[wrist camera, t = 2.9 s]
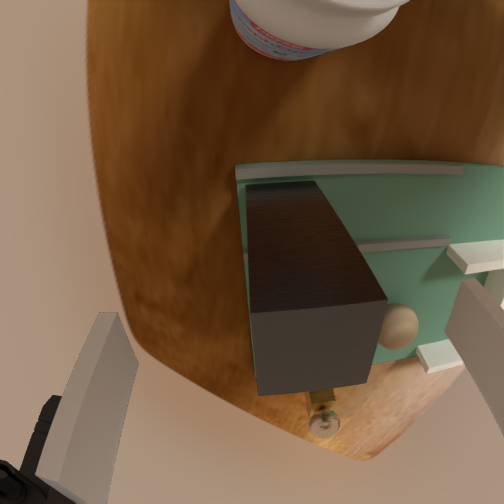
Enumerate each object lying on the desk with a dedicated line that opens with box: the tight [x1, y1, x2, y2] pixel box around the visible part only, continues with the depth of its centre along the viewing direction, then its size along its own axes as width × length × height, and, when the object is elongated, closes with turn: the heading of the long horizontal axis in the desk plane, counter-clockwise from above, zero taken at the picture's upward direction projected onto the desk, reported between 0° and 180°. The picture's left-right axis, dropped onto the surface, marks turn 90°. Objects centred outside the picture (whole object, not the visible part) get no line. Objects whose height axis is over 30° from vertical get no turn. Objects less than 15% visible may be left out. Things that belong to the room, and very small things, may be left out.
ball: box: [378, 303, 418, 350], centre depth 22 cm, size 4×4×4 cm
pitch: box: [235, 159, 504, 378], centre depth 23 cm, size 18×22×1 cm
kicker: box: [245, 181, 388, 438], centre depth 17 cm, size 14×4×11 cm, turn 4°
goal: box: [416, 239, 504, 374], centre depth 23 cm, size 12×7×4 cm, turn 4°
